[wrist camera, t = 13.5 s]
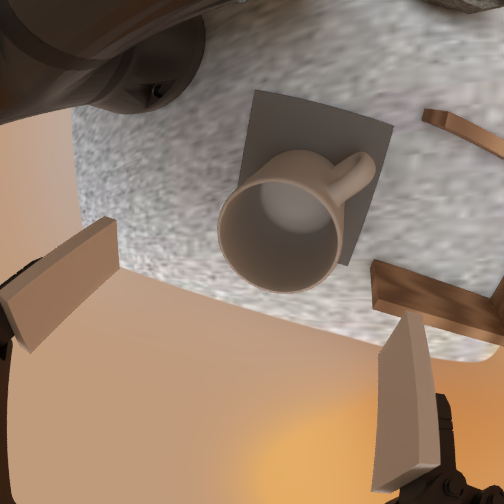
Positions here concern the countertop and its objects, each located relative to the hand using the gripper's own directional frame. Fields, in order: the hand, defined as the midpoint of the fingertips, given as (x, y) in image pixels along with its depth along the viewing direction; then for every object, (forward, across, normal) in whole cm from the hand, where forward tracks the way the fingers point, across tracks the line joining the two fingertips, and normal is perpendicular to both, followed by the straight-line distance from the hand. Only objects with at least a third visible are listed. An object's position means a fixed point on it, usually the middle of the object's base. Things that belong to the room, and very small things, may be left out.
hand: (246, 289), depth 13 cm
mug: (+19, +1, 0) cm, 19 cm away
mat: (+19, 0, 0) cm, 19 cm away
